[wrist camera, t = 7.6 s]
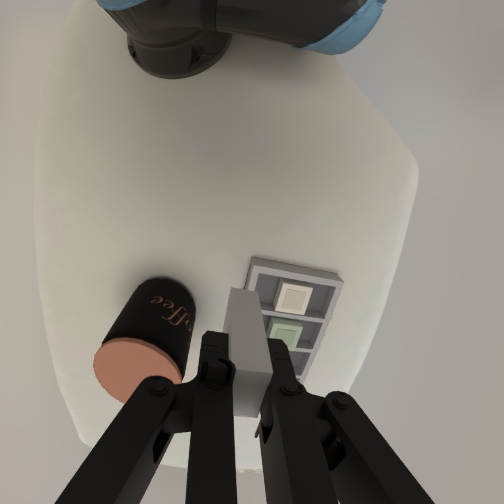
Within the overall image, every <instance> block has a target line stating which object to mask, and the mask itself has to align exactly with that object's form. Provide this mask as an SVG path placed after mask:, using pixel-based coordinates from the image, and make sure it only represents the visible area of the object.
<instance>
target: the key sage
mask: <svg viewBox="0 0 504 504" xmlns="http://www.w3.org/2000/svg"><path fill="white" fill-rule="evenodd" d="M302 329H303V326H302V324H301V321H300V320H298V319H291V318H284V317H278V316H271V319H270V322H269V326H268V329H267V332H266V338H275V339H282V340H283V341H284V343H285V344H286V345H287V346H288V350H289V351H294V350H295V348H296V345H297V342H298V340H299V337H300V334H301V332H302Z"/></svg>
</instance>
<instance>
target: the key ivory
mask: <svg viewBox="0 0 504 504" xmlns="http://www.w3.org/2000/svg"><path fill="white" fill-rule="evenodd" d="M312 290H313V287H312V286H311V284H310V282H306V281H300V280H295V279H289V278H284V277H280V280H279V284H278V287H277V291H276V294H275V298H274V301H273V306H274V309H275V311H279V312H285V313H292V314H299V315H304V314H305V311H306V308H307V305H308V302H309V299H310V296H311V293H312Z"/></svg>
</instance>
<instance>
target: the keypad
mask: <svg viewBox="0 0 504 504" xmlns="http://www.w3.org/2000/svg"><path fill="white" fill-rule="evenodd" d="M280 277H284V278H289V279H295V280H300V281H306V282H310V284H311V286H312V287H313V290H312V293H311V296H310V299H309V302H308V305H307V308H306V311H305V314H304V315H299V314H292V313H285V312H279V311H275V309H274V306H273V301H274V298H275V294H276V291H277V287H278V284H279V280H280ZM343 283H344V281H343V280H342V279H341V278H340V277H339V276H338V275H337V274H336V273H331V272H325V271H320V270H315V269H310V268H305V267H300V266H295V265H290V264H284V263H279V262H274V261H269V260H264V259H259V258H254V257H252V259H251V263H250V267H249V271H248V275H247V279H246V284H245V288H244V290H251V291H257V292H258V295H259V300H260V305H261V311H262V316H263V321H264V327H265V332H267V329H268V326H269V322H270V319H271V316H278V317H284V318H291V319H298V320H300V321H301V324H302V326H303V329H302V332H301V334H300V337H299V340H298V342H297V345H296V348H295V350H294V351H290V357H291V361H292V364H293V368H294V371H295V375H296V379H297V381H298V382H300V383H301V384H302V385H303V383H304V381H305V379H306V376H307V374H308V372H309V370H310V367H311V365H312V363H313V360H314V358H315V356H316V353H317V351H318V349H319V346H320V344H321V341H322V339H323V336H324V334H325V331H326V329H327V326H328V324H329V321H330V319H331V316H332V313H333V311H334V308H335V305H336V303H337V300H338V297H339V295H340V292H341V289H342V286H343Z"/></svg>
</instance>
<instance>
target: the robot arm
mask: <svg viewBox="0 0 504 504" xmlns="http://www.w3.org/2000/svg"><path fill="white" fill-rule="evenodd" d="M96 1H97V2H98V4H99V6H100V7H102V8H103V9H104V10H105V11H106V12H107V13H108V14H109V15H110V16H111V17H112V18H113V19H114V20H115V21H116V22H117V23H118V24H119V25H120V26H121V28H122V29H123V30H124V31H125V32H126V33H127V43H128V49H129V52H130V55H131V57H132V58H133V60H134V61H135V62H136V63H137V64H138V65H139V66H140V67H141V68H142V69H143V70H144V71H146V72H147V73H149V74H151V75H153V76H156V77H160V78H165V79H179V78H185V77H190V76H193V75H196V74H198V73H200V72H202V71H204V70H206V69H208V68H209V67H211V66H212V65H213V64H215V63H216V62H217V61H218V60H219V59H220V58H221V57H222V56H223V54H224V53H225V51H226V50H227V48H228V46H229V43H230V40H231V34H232V33H233V34H239V35H245V36H251V37H256V38H262V39H267V40H271V41H276V42H280V43H284V44H288V45H292V47H294V48H296V49H300V50H312V51H315V52H319V53H323V54H327V55H335V54H342V53H345V52H347V51H349V50H351V49H352V48H354V47H355V46H356V45H358V44H359V43H360V42H361V41H362V40H363V39H364V38H365V37H366V36H367V35H368V33H369V32H370V31H371V30H372V28H373V27H374V26H375V24H376V22H377V21H378V19H379V17H380V16H381V14H382V11H383V10H382V8H381V7H382V5H383V4H384V3H385V2H386V0H96ZM259 412H260V414H261V420H260V422H259V425H258V428H257V430H256V433H255V438H257V437H258V434H259V438H260V447H261V456H262V465H263V474H264V483H265V492H266V501H267V504H338V501H339V502H340V504H435V503H434V502H433V501H432V500H431V498H430V497H429V496H428V494H427V493H426V492H425V490H424V489H423V488H422V487H421V485H420V484H419V483H418V481H417V480H416V479H415V478H414V476H413V475H412V474H411V472H410V471H409V470H408V469H407V467H406V466H405V465H404V463H403V462H402V461H401V460H400V458H399V457H398V456H397V454H396V453H395V452H394V451H393V449H392V448H391V447H390V446H389V444H388V443H387V442H386V440H385V439H384V438H383V436H382V435H381V434H380V433H379V431H378V430H377V429H376V427H375V426H374V424H373V423H372V422H371V421H370V419H369V418H368V417H367V415H366V414H365V413H364V411H363V410H362V409H361V408H360V406H359V405H358V404H357V402H356V401H355V400H354V399H353V398H352V397H351V396H350V395H349V394H347V393H345V392H341V391H333V392H330V393H328V395H327V396H326V397H321V396H317V395H313V394H310V393H308V392H307V391H306V389H305V387H304V386H303V385H302V384H301V383H300V382H298V381H297V379H296V375H295V371H294V368H293V364H292V361H291V357H290V355H289V350H288V346H287V345H286V344H285V343H284V341H283V340H282V339H275V338H266V332H265V327H264V321H263V316H262V311H261V305H260V300H259V295H258V292H257V291H251V290H244V289H237V288H231V290H230V295H229V301H228V306H227V311H226V317H225V322H224V327H223V333H221V332H214V331H207V332H206V333H205V334H204V335H203V336H202V341H201V349H200V356H199V364H198V372H197V375H196V377H195V378H194V379H193V380H191V381H189V382H187V383H181V384H174V383H173V382H172V380H170V379H168V378H166V377H164V376H159V375H154V376H149V377H146V378H145V379H143V380H142V381H141V382H140V384H139V385H138V387H137V388H136V389H135V391H134V392H133V393H132V395H131V396H130V398H129V399H128V400H127V402H126V403H125V405H124V406H123V407H122V409H121V410H120V411H119V413H118V414H117V416H116V417H115V418H114V420H113V421H112V423H111V424H110V425H109V427H108V428H107V430H106V431H105V432H104V434H103V435H102V437H101V438H100V439H99V441H98V442H97V444H96V445H95V446H94V448H93V449H92V451H91V452H90V453H89V455H88V456H87V458H86V459H85V461H84V462H83V463H82V465H81V466H80V468H79V469H78V471H77V472H76V473H75V475H74V477H73V478H72V479H71V480H70V482H69V483H68V485H67V486H66V488H65V489H64V491H63V492H62V493H61V495H60V496H59V498H58V499H57V501H56V502H55V504H139V503H140V501H141V499H142V497H143V496H144V494H145V492H146V490H147V488H148V486H149V484H150V482H151V479H152V478H153V476H154V474H155V471H156V470H157V468H158V466H159V464H160V462H161V460H162V458H163V456H164V454H165V452H166V450H167V448H168V446H169V444H170V442H171V440H172V438H173V436H174V433H183V432H191V436H190V447H189V459H188V472H187V485H186V500H185V504H237V486H236V466H235V442H234V416H241V417H255V418H257V417H258V414H259ZM337 499H338V500H337Z"/></svg>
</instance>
